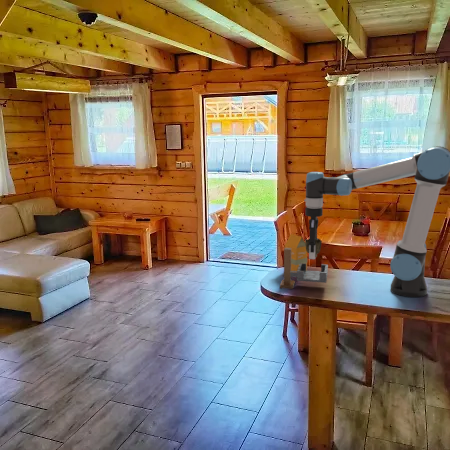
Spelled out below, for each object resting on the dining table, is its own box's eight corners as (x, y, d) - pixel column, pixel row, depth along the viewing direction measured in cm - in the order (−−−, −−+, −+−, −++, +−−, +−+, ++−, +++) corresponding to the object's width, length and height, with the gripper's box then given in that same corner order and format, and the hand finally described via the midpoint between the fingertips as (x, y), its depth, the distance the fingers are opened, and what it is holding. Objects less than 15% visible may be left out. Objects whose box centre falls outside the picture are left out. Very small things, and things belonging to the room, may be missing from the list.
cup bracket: (327, 283, 210) (328, 247, 206) (325, 293, 198) (327, 254, 194) (283, 280, 216) (283, 244, 212) (279, 289, 203) (279, 251, 200)
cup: (322, 259, 199) (323, 241, 197) (306, 259, 199) (306, 242, 198) (319, 254, 206) (320, 237, 205) (303, 254, 207) (304, 238, 205)
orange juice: (295, 276, 222) (296, 237, 217) (284, 272, 229) (284, 234, 225) (307, 273, 226) (308, 235, 222) (295, 269, 233) (296, 232, 229)
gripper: (307, 203, 208) (306, 250, 213) (303, 210, 190) (302, 262, 194) (323, 203, 206) (322, 251, 211) (321, 211, 188) (319, 263, 192)
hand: (312, 256), depth 203 cm, fingers closed on cup, 7 cm apart
